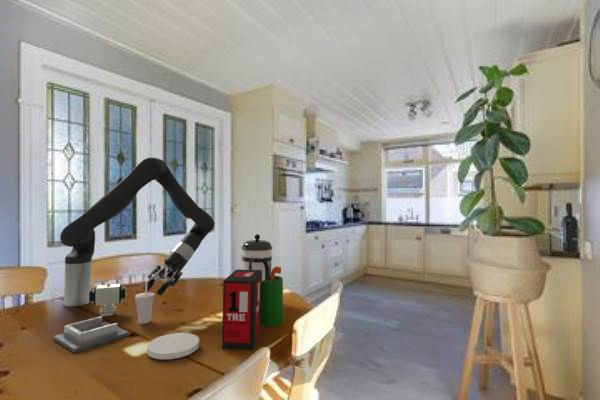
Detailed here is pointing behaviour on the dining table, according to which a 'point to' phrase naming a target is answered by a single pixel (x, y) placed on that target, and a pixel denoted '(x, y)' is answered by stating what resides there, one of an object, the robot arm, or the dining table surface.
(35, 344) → the dining table surface
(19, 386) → the dining table surface
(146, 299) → the smoothie
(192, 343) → the plastic lid
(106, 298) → the pneumatic valve
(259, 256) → the coffee press
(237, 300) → the cleaning product box
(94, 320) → the mount plate
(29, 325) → the dining table surface
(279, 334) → the dining table surface
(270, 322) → the green cylindrical container
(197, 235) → the robot arm
